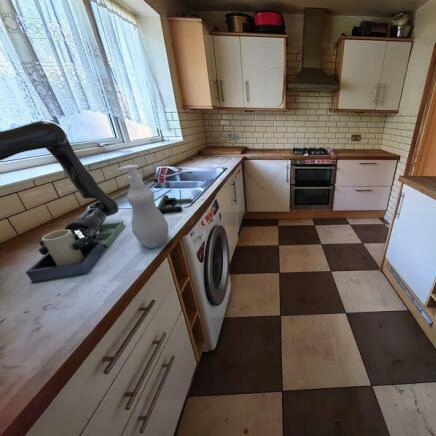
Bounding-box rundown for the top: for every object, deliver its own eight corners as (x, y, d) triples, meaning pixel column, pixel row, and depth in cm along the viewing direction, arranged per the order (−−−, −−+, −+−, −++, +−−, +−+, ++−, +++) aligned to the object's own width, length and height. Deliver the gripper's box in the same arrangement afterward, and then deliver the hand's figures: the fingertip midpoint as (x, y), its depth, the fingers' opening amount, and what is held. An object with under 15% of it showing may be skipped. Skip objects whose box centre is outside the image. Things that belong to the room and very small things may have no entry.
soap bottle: (136, 236, 91) (110, 163, 78) (168, 228, 97) (148, 159, 84) (139, 257, 78) (108, 174, 65) (175, 246, 84) (153, 168, 71)
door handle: (191, 193, 129) (160, 194, 124) (188, 206, 112) (151, 209, 107) (192, 198, 130) (161, 200, 125) (189, 213, 113) (153, 215, 108)
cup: (53, 271, 71) (35, 241, 66) (65, 259, 77) (50, 231, 72) (78, 267, 73) (63, 238, 68) (88, 255, 78) (75, 228, 73)
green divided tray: (45, 257, 79) (42, 252, 78) (74, 231, 94) (71, 227, 94) (107, 248, 83) (105, 243, 82) (124, 225, 99) (123, 221, 98)
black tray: (32, 282, 67) (25, 272, 65) (59, 256, 79) (54, 247, 77) (86, 273, 71) (81, 263, 69) (105, 250, 82) (100, 240, 81)
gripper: (56, 219, 80) (23, 243, 66) (103, 214, 84) (81, 236, 70) (65, 237, 84) (35, 264, 70) (110, 232, 87) (90, 256, 73)
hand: (58, 250), depth 70 cm, fingers open, 8 cm apart
